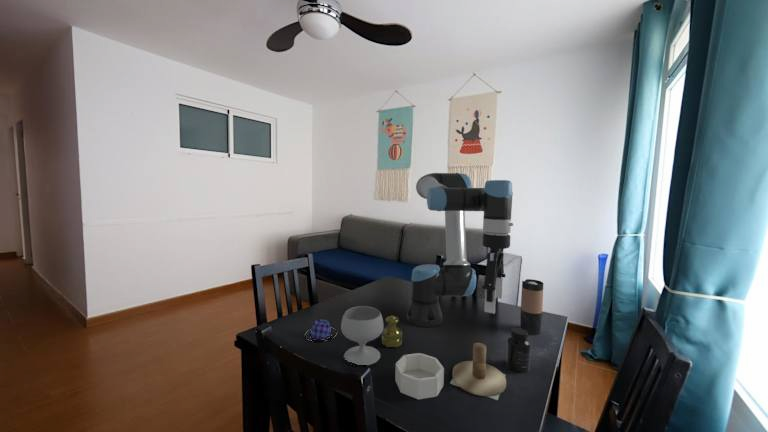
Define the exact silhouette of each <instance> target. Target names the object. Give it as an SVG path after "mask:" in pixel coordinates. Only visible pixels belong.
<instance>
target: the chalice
mask: <svg viewBox="0 0 768 432" xmlns="http://www.w3.org/2000/svg"><path fill="white" fill-rule="evenodd" d="M384 326H385V325H384V319H383V315H382V313H381V311H380V310H379V309H378V308H376V307H374V306H369V305H367V306H366V305H358V306H353V307H349V308H348V309H347V310H345V312H344V313H343V315H342V319H341V323H340V330H341V334H342V335H343V336H344V337H345V338H347V339H348V340H350V341H352V342H354V343H357V344H358V345H356V346H353V347H351V348H348V349H347V350H346V351H345V353H344V354H343V359H344V358H345V359H344V361H345V360H347V361H348V362H352V363H355V364H357V365H367V366H370V365H373V364H376V363H377V362H378V361H379V360H380V358H381V353H380V351H379V350H378V349H376V348H375V347H373V346H369V345H366V344H367V343H369V342H371V341H374V340H375V339H377V338H379V336H380V335H382V331H383V329H384V328H385V327H384Z"/></svg>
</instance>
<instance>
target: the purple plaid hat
mask: <svg viewBox="0 0 768 432" xmlns="http://www.w3.org/2000/svg"><path fill="white" fill-rule="evenodd" d="M331 328H333V329H335V328H334V327H331V325H330V322H329V320H327V319H318V320H315V321H314V322H313V323H312V327H311V329H312V330H311V329H308V330H307V331H306V332H305V334H304V336H305V335H306V333H307V332H308V331H309V330H311V336H312V337H313V338H317V339H320V338H326V337H327V336H330V335H331V336H332V334H331ZM337 334H338V332H337V333H336V335H335V336H334V337H333V338H335V337H336V336H337ZM311 336H310V337H311ZM307 340H308V341H312V340H309V339H307ZM324 340H325V339H324ZM326 341H327V340H325V341H324V342H326ZM312 342H313V341H312Z"/></svg>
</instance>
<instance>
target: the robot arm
mask: <svg viewBox="0 0 768 432" xmlns="http://www.w3.org/2000/svg"><path fill="white" fill-rule="evenodd" d="M415 190H416V192H417V194H418V195H419V196H420V197H421V198H422V199H425V200H426V205H427V209H428V210H429V211H436V212H444V218H445V219H444V220H445V221H444V222H445V223H444V225H445V227H444V228H445V229H444V230H445V249H446V250H445V257H446V258H445V259H446V260H445V261H444V262H443V263H442V268H441V267H440V265H438V264H434V263H433V264H431V263H429V264H428V263H427V264H421V265H417V266H415V267H414V268H413V269H412V271H411V272H412V273H411V300H410V304H409V307H408V310H407V313H406V321H407V322H409V323H410V324H412V325H414V326H418V327H422V328H423V327H424V328H433V327H437V326H439V325H441V324H442V323H443V313H442V310H441V309H442V308H441V306H440V302H439V301H440V299H439V298H440V297H461V298H462V297H469V296H472V295H473V293H474V291H475V290H476V287H477V274H476V270H475V269H474V268H472V267H471V263H470V262H468V259H467V240H466V239H467V238H466V214H465V213H466V212H483V218H482V222H483V223H482V231H483V232H484V233H483V234H482V246H483V247H485V248H489V252H487V254H486V258H487V259H486V266H485V275H484V283H483V285H482V286H481V287H482V288H481V289H482V290H484V306H483V307H484V309H483V310H484V313H489V314H493V315H495V314H496V301H497V300H496V299H503V281H504V278H506V273H505V271H504V270H505V269H504V255H505V254H504V251H505V249H508V248H509V249H510V247H511V236H510V233H511V228H512V227H513V226H514V223H513V222H511V221H512V220H511V219H512V211H513V209H512V207H513V206H512V205H513V195H514V194H513V193H514V192H513V183H512V181H511V180H505V179H503V180H502V179H494V180H493V179H492V180H491V179H490V180H486V181H485V183H484V187H473V184H472V181H471V179H470V177H469V176H468V175H467V174H466V173H459V172H456V173H455V172H449V173H447V172H446V173H445V172H432V173H427V174H425V175H423V176H421V177H419V179H418V180H417V182H416V185H415Z"/></svg>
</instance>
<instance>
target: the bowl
mask: <svg viewBox="0 0 768 432" xmlns="http://www.w3.org/2000/svg"><path fill="white" fill-rule="evenodd" d="M444 375H445V368H444V366H443V365H442V364H441V361H439V360H438V358H437V357H434V356H431V355H428V354H425V353H421V352H417V353H416V352H415V353H411V354H410V353H409V354H403V355H402V356H401V357H400V358H399V359H398V361H396V362H395V378H394V379H395V383H396V385H397V387H398V389H399V391H400V393H401V394H404V395H406V396H408V397H411V398H414V399H416V400H423V399H430V398H435V397H438V396H439V394H440V392H441V391H442V388H443V387H444V385H445V384H444V383H445V381H444V380H445V379H444V378H445V376H444Z"/></svg>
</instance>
